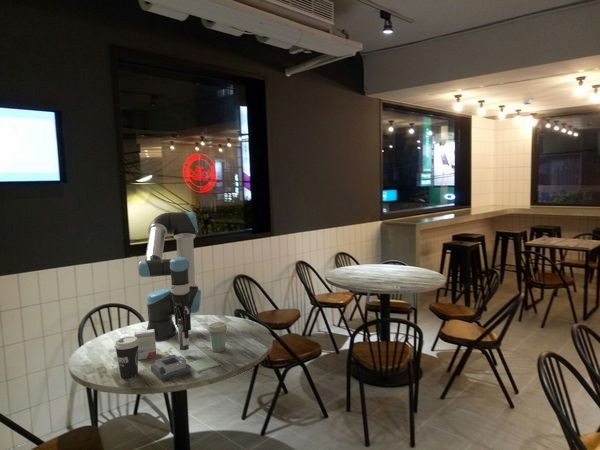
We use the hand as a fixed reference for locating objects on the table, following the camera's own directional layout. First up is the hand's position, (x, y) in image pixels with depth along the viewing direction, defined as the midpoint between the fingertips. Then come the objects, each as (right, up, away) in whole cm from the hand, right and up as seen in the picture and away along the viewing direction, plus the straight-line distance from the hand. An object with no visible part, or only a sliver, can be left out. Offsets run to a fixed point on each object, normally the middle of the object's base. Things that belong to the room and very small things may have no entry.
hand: (184, 342), depth 192 cm
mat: (+11, -7, -10) cm, 16 cm away
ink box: (-17, -7, +1) cm, 19 cm away
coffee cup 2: (+14, -5, +6) cm, 17 cm away
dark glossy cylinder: (0, -3, 0) cm, 3 cm away
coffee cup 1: (-18, -9, -17) cm, 26 cm away
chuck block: (-1, -8, -15) cm, 17 cm away
